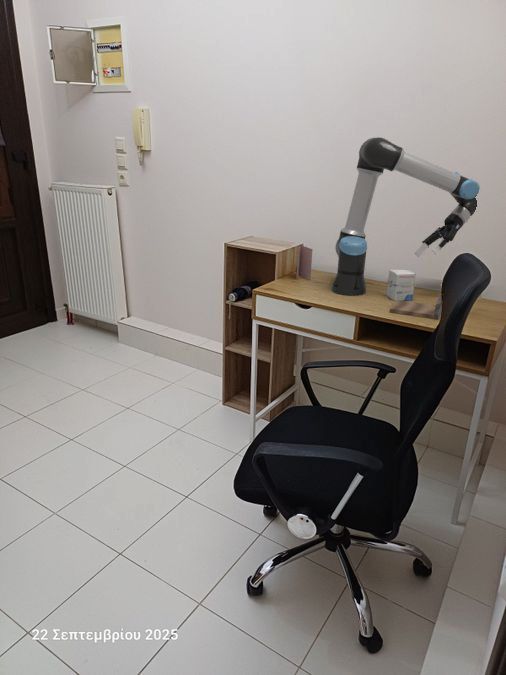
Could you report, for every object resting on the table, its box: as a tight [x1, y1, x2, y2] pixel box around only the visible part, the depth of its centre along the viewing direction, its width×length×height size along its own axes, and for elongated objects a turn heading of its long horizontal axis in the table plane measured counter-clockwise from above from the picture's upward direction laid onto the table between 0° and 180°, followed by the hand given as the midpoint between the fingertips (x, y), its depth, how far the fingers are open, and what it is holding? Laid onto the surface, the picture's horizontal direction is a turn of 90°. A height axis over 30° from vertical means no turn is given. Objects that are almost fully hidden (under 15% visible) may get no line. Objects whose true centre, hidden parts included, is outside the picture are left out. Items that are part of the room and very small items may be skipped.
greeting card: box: [295, 245, 313, 281], centre depth 236 cm, size 11×7×15 cm, turn 169°
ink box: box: [385, 269, 417, 302], centre depth 208 cm, size 9×8×12 cm
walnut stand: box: [389, 294, 442, 320], centre depth 191 cm, size 18×14×6 cm
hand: (424, 253), depth 211 cm, fingers open, 13 cm apart
